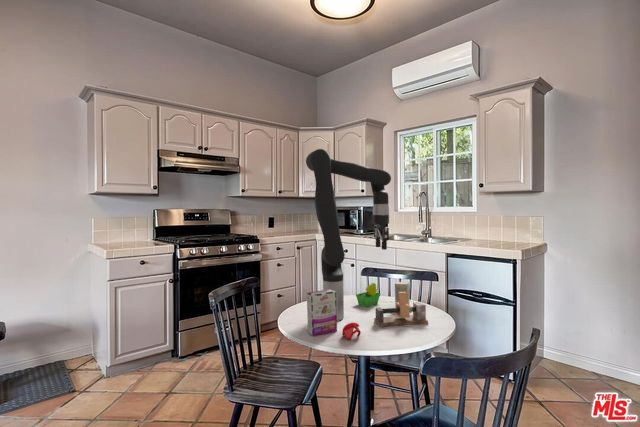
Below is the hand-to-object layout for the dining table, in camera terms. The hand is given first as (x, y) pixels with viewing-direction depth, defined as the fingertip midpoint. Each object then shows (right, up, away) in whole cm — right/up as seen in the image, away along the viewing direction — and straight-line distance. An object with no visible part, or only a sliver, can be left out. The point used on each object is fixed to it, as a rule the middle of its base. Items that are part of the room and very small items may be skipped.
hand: (381, 248), depth 166 cm
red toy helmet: (-17, -32, -30) cm, 47 cm away
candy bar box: (-28, -32, -24) cm, 48 cm away
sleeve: (+7, -28, -14) cm, 32 cm away
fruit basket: (-4, -30, +14) cm, 33 cm away
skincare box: (+12, -30, +7) cm, 33 cm away
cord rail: (+6, -31, -14) cm, 34 cm away
